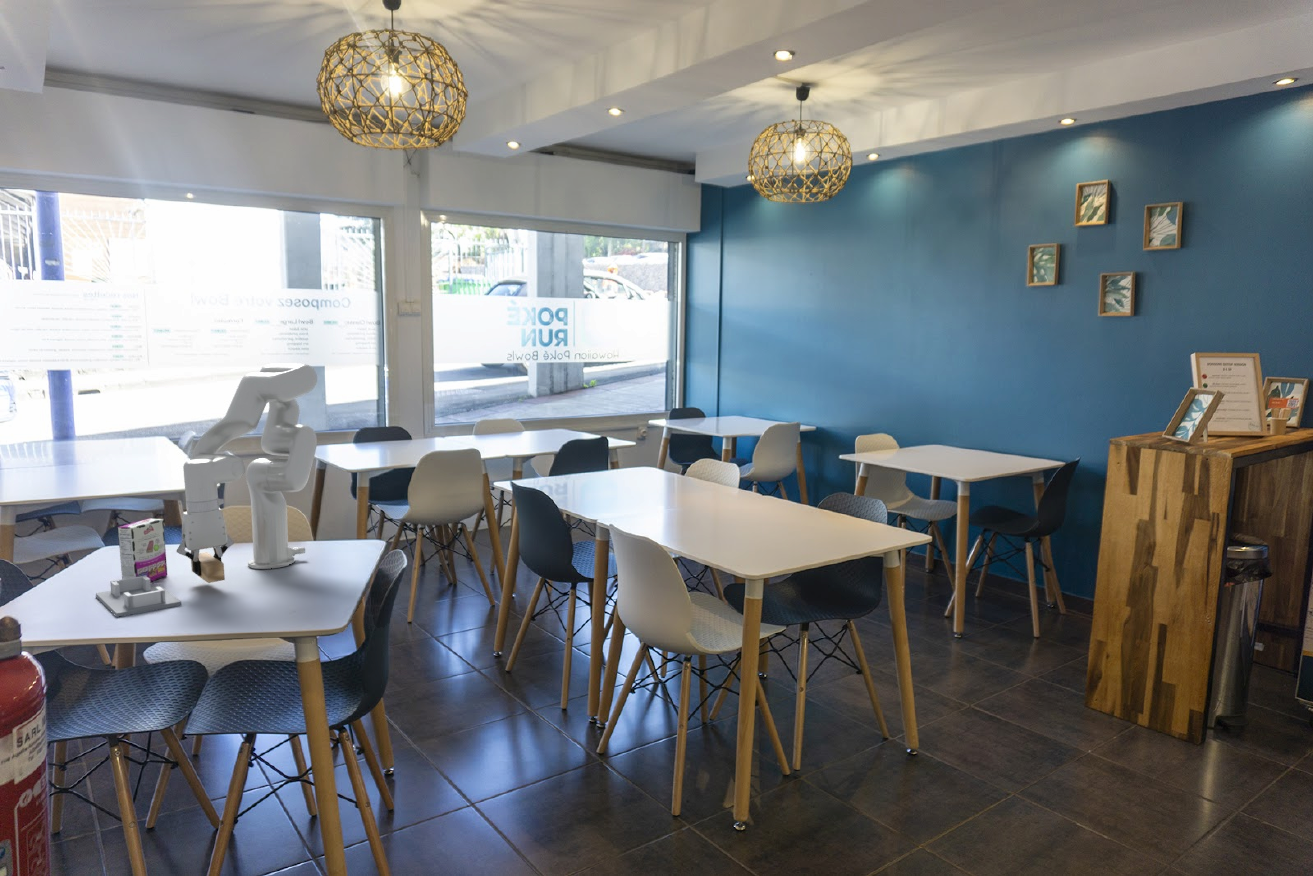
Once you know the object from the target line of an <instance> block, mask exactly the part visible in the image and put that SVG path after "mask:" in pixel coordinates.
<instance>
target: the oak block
mask: <svg viewBox="0 0 1313 876" xmlns="http://www.w3.org/2000/svg"><path fill="white" fill-rule="evenodd" d="M213 556H214V555H212V554H210V553H208V552H201V553H200V552H199V561H201V562H200V563H201V576H198V575H197V574H196V573H194V572H193V564H192V560H191V559H190V565H191V572H192V573H194V574H195V575H196V576H198V577H199V578H200V579H202V580H203V581H205V582H206V583H208V584H210V583H216V582H219V581H226V577H225V576H226V575H225V566H224V565H225V564H224V562H222V560H221V561H219V560H218V559H216V558H214V557H213Z"/></svg>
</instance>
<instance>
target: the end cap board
mask: <svg viewBox="0 0 1313 876" xmlns="http://www.w3.org/2000/svg"><path fill="white" fill-rule="evenodd" d="M95 597H96V599H97V600H99V601H100V603H102V604H103V606H105V607H106V608H107V609H108V610H109V609H110V610H109V612H111V611H112V612H111V613H112V614H113V615H114V614H115V615H116V616H115V615H114V616H115V617H116V618H120V617H119V616H122V617H126V616H125V615H127V616H131V615H130V614H133V615H138V614H143V613H148V612H153V611H157V610H158V609H159V610H164V609H170V608H175V607H179V606H182V600H180V599H179V598H177V597H176V596H175V595H173V594H172V593H171V592H170V591H168V590H167V589H166V588H165V587H163V586H161V584H159V583H158V582H154V583H151V582H150V579H149V578H148V577H147V576H140V577H134V578H127V579H122V578H120V579H118V580H117V579H116V580H115V579H114V580H111V581H110V590H106V591H101V592H96V593H95Z"/></svg>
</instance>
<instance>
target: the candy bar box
mask: <svg viewBox="0 0 1313 876" xmlns="http://www.w3.org/2000/svg"><path fill="white" fill-rule="evenodd" d="M164 526H165V525H164V518H147V519H142V520H139V521H135V522H131V523H129V524H125V525H121V526H118V527H117V533H118V544H119V547H118V548H119V554H120V555H119V556H120V559H119V560H120V567H121V569H120V570H121V579H127V578H134V577H140V576H147V577H148V578H149V579H150V583H151V582H154V581H157V580H160V579H163V578H165V577H167V576H168V566H167V565H168V564H167V554H166V553H167V552H166V541H165V540H166V539H165V527H164Z"/></svg>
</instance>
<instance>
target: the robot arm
mask: <svg viewBox="0 0 1313 876" xmlns="http://www.w3.org/2000/svg"><path fill="white" fill-rule="evenodd" d="M317 382H318V375H317V371H316V370H315V368H313V366H311V365H309V364H306V363H281V362H280V363H279V362H278V363H269V364H266V365H264V366H263V367H261V369H260V371H259V372H249V373H247V374H245V375H244V376H243V377H242V378H241V380H240V382H239V384H238V386H237V389H236V391H235V393H234V394H233V395H234V396H233V397H232V400H231V402H230V404H229V407H228V409H227V412H226V413H225V416H223V418H222V419H220V420H219V421H217V422H216V423H215V424H214V425H212V426H211V427H210V428H209V429H208V430H207V431H205V432H204V433H203V434H202V435H201V436H200V437H199V439H198V440H197V442H196V445H195V447H194V449H193V451H192V453H191V456H190V458H189V460H187V461H185V462H184V464H183V466H182V467H183V479H184V480H183V481H184V493H185V504H186V507H185V508H186V511H183V514H182V519H181V542H180V544H179V545H178V547H177V549H176V553H178V554H179V555H182V556H184V557H187V558H189V559H190V561H191V560H192V564H193V572H192V573H194V574H195V573H196V574H197V575H196V574H195V575H196V576H198V577H199V576H201V563H200V562H201V561H199V554H200V551H201V550H207V549H211V548H213V549H212V550H213V552H214V553H213V555H212V556H213V557H214V558H216V559H218V560H219V561H221V562H222V557H223V555H224V554H225V553H226V551H227V550H228V549H229V548H230V547H231V546H233V545H234V544H235V541H234V540H233V539H232V538H231V537H230V535H229V534H228V531H227V525H226V521H225V517H224V513H223V509H222V508H220V506H221V505H223V504H225V500H224V498H219V494H218V485H219V484H225V483H226V484H228V483H234V482H237V481H238V480H240V479H241V478H242V477H243V476H244V475H245V480H246V484H247V487H248V491H249V497H250V506H251V507H250V510H251V511H250V512H251V527H252V531H251V532H252V551H253V558H251V559H250V560H248V561H247V566H248V567H249V568H251V569H257V570H272V569H278V568H283V567H287V566H290V565H289V564H291V565H293V564H292V563H295V560H296V559H295V557H294V556H296V555H302V554H306V548H305V546H300V547H298V546H295V547H291V546H289V531H288V530H289V529H288V509H287V508H288V504H287V501H286V499H285V496H284V494H283V493H282V492H284V493H296V492H297V493H298V492H300V491H303V489H304V488H305V487H306V486H307V483H308V481H309V478H310V474H311V470H312V467H313V463H314V459H315V456H316V450H317V446H318V444H317V443H318V440H317V438H318V437H317V433H316V432H315V430H314V428H312V427H311V426H310V425H308V424H302V423H301V424H298V422H299V417H300V411H301V410H300V406H299V403H298V401H297V399H298V398H299V397H302V396H304V395H306V394H310V392H311V391H313V390H314V389H315V387H316V385H317ZM267 404H268V412H267V416H266V421H265V424H264V427H263V429H262V430H263V431H262V435H261V440H260V448H261V449H262V451H263V452H264V453H265V454H267V455H268V454H269V455H272V456H280V457H284V456H286V457H288V458H276V457H262V458H261V457H260V458H256V459H254V460H252V461H251V462H250V463H249V464H248V465H247V467H246V464H245V462H244V460H243V459H242V458H241V457H239V456H237V455H234V454H225V453H224V454H221V453H218V452H219V451H220V449H221V448H222V447H224V446H225V445H226V444H228V443H229V442H231V441H232V440H235V439H237V438H240V437H242V436H245V435H248V434H249V433H251V432H253V431H255V430H256V429H257V427H258V425H259V422H260V420H261V418H262V415H263V412H264V410H265V408H266V407H267V406H266V405H267ZM186 549H187V550H188V551H187V550H186ZM271 568H272V569H271Z"/></svg>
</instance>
